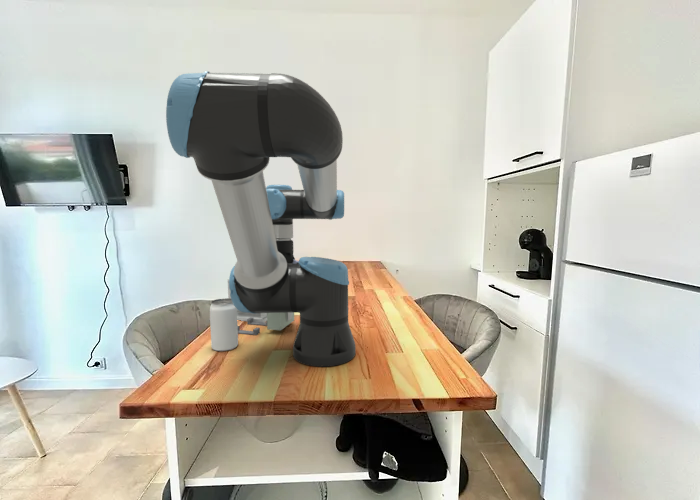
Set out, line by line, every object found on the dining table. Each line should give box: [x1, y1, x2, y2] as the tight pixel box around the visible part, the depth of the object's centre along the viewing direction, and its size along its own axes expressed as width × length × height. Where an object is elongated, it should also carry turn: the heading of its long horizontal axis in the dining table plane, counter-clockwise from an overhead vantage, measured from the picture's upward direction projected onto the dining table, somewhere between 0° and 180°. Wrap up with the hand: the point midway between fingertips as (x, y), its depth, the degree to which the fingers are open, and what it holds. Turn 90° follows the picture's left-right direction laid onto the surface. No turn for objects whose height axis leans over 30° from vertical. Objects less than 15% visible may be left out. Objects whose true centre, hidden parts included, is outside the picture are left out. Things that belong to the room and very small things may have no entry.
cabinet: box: [227, 279, 267, 336], centre depth 108 cm, size 18×15×13 cm
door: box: [266, 312, 295, 331], centre depth 103 cm, size 10×5×10 cm, turn 167°
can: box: [209, 297, 239, 352], centre depth 89 cm, size 6×6×12 cm
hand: (281, 318), depth 104 cm, fingers closed on door, 4 cm apart
